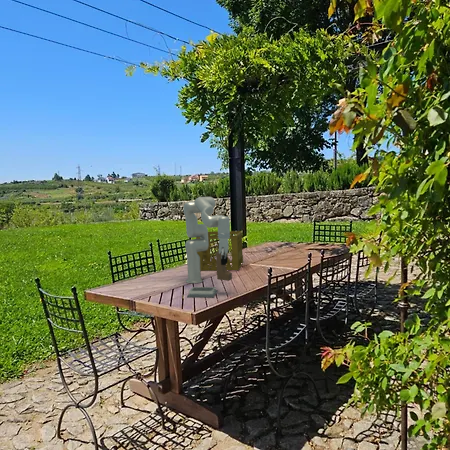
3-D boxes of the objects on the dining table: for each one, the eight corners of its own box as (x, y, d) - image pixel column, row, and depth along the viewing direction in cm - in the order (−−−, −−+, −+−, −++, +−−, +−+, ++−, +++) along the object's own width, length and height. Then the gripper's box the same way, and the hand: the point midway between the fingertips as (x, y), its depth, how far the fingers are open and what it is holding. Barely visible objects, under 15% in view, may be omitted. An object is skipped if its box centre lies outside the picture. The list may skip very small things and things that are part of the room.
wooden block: (232, 279, 254) (231, 251, 252) (228, 281, 250) (227, 253, 248) (220, 277, 259) (219, 250, 256) (216, 279, 255) (215, 252, 252)
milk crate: (205, 263, 368) (204, 231, 366) (243, 263, 363) (242, 231, 360) (196, 271, 333) (195, 235, 331) (238, 271, 328) (237, 235, 325)
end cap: (192, 291, 265) (192, 286, 265) (217, 291, 262) (217, 286, 262) (187, 297, 249) (186, 292, 249) (213, 297, 247) (213, 292, 246)
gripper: (220, 234, 260) (220, 261, 262) (215, 237, 244) (216, 266, 246) (231, 234, 259) (231, 261, 261) (227, 237, 243) (228, 266, 244)
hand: (224, 263), depth 253 cm, fingers closed on wooden block, 5 cm apart
